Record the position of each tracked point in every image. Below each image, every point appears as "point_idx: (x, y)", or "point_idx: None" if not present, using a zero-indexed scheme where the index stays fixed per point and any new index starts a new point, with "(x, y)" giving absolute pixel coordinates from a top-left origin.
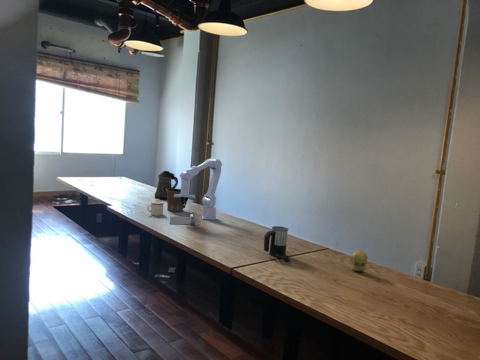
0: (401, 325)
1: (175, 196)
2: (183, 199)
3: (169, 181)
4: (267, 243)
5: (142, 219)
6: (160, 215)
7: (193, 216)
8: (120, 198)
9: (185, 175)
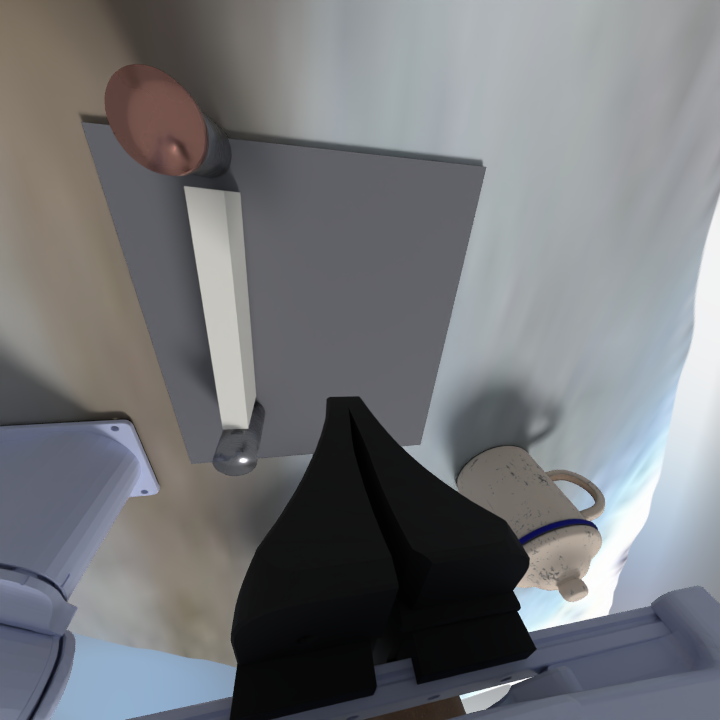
0: None
1: (694, 629)
2: (432, 537)
3: None
4: None
5: (637, 333)
6: (478, 455)
7: (149, 153)
8: (547, 624)
9: None
